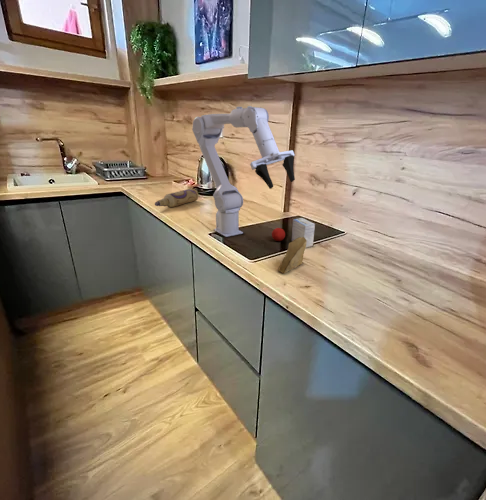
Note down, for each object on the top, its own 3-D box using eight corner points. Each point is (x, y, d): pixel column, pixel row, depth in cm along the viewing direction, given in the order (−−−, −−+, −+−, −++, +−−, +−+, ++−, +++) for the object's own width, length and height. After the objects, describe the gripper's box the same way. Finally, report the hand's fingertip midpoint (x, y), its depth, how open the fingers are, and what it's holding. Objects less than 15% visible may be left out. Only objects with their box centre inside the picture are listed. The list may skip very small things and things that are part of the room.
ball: (268, 240, 114) (269, 227, 112) (279, 237, 117) (279, 225, 115) (277, 244, 111) (277, 231, 109) (287, 241, 114) (288, 229, 112)
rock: (285, 271, 85) (315, 262, 89) (275, 243, 87) (305, 235, 90) (273, 278, 95) (300, 268, 99) (264, 252, 97) (291, 244, 100)
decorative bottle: (188, 199, 165) (188, 187, 163) (199, 201, 162) (198, 189, 159) (149, 209, 145) (148, 195, 142) (160, 212, 141) (159, 198, 139)
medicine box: (313, 246, 110) (315, 223, 107) (303, 248, 108) (305, 225, 105) (300, 239, 117) (302, 217, 113) (291, 240, 114) (292, 218, 111)
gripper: (248, 143, 89) (265, 186, 89) (290, 132, 93) (307, 173, 93) (243, 154, 96) (259, 193, 96) (283, 142, 100) (298, 181, 100)
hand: (282, 184), depth 95 cm, fingers open, 7 cm apart
